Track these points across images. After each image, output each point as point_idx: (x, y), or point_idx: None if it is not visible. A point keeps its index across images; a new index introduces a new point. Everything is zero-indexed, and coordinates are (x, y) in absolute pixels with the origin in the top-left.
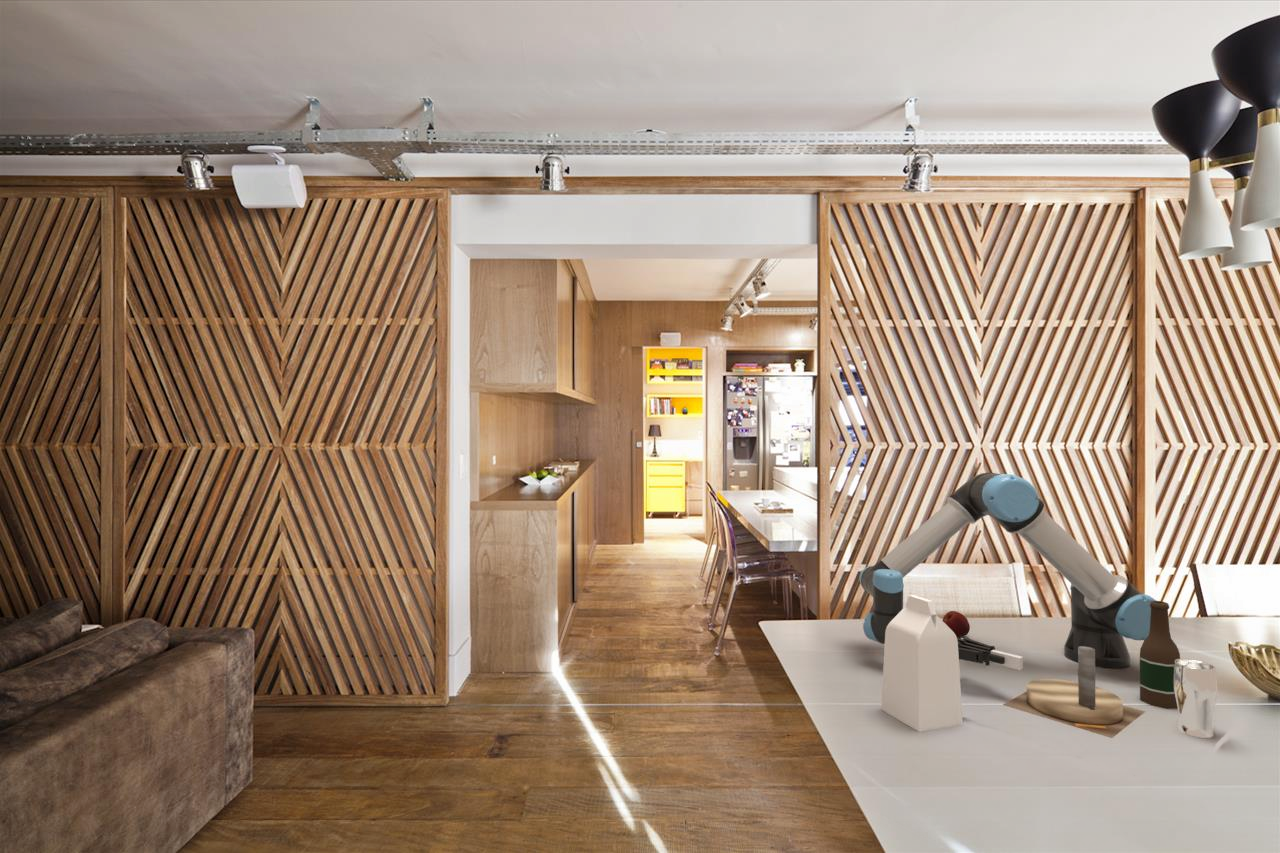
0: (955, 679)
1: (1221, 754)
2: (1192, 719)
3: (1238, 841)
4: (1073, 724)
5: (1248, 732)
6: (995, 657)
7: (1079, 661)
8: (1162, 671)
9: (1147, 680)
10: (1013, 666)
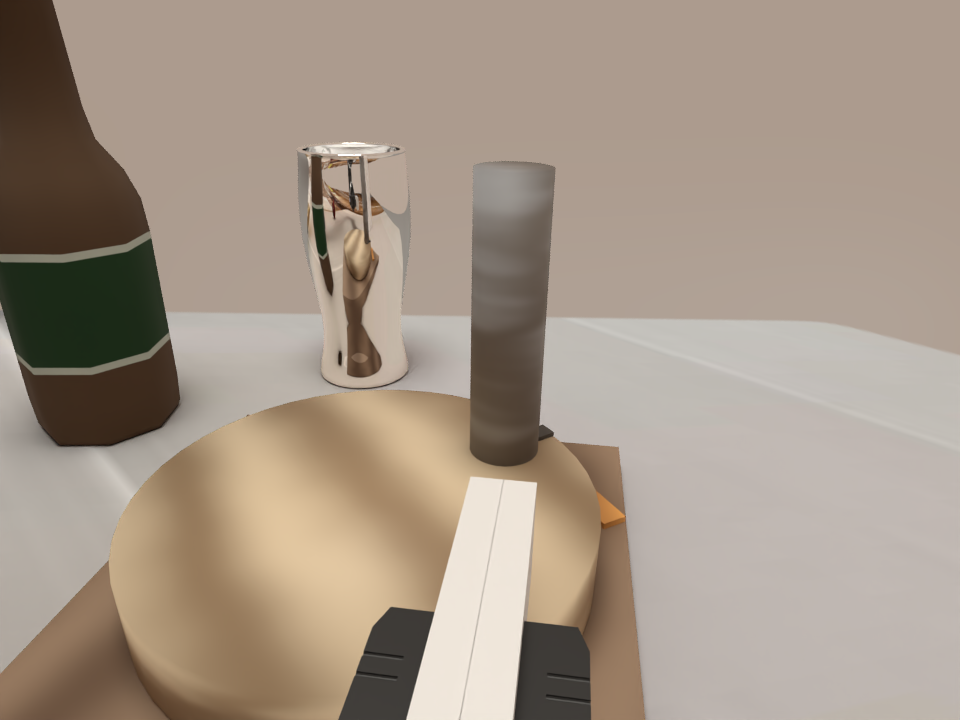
0: None
1: (452, 347)
2: (400, 312)
3: (883, 336)
4: (607, 530)
5: (246, 327)
6: (590, 713)
7: (538, 249)
8: (149, 264)
9: (126, 329)
10: (527, 607)
